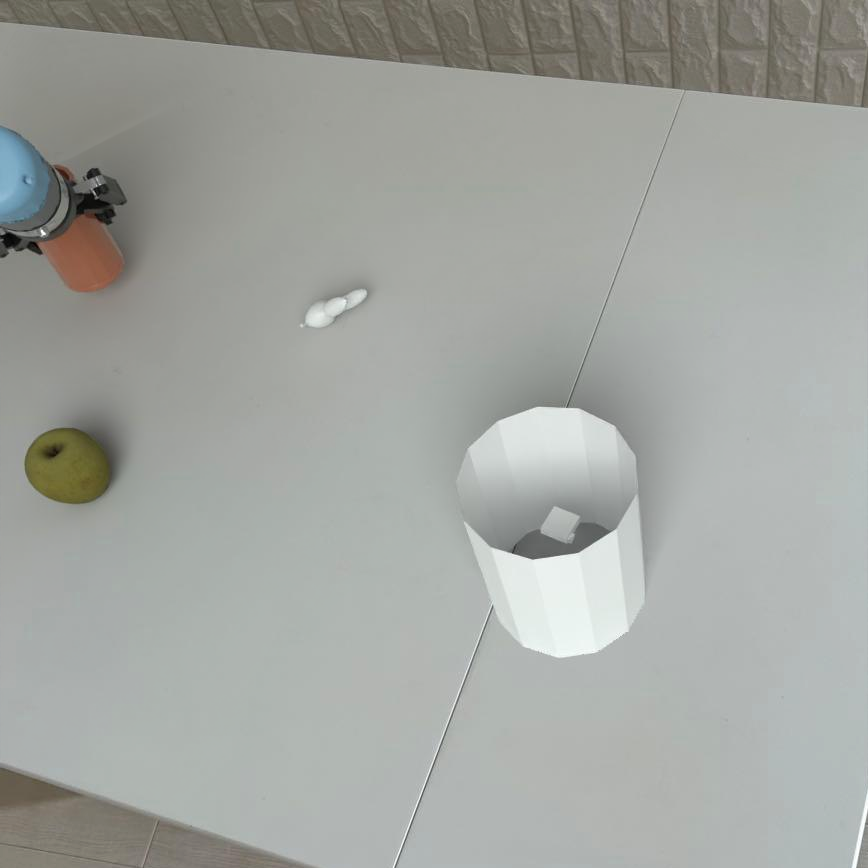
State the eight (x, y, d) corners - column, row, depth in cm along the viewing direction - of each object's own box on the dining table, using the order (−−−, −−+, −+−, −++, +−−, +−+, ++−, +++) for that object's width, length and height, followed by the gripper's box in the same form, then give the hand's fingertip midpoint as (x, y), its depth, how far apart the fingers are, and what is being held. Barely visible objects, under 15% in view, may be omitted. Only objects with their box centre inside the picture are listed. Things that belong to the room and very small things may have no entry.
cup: (54, 293, 121) (-4, 213, 111) (74, 247, 125) (19, 165, 115) (114, 292, 120) (61, 211, 110) (132, 245, 124) (82, 163, 114)
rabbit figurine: (310, 305, 120) (362, 275, 117) (328, 336, 121) (380, 307, 118) (284, 319, 115) (338, 288, 112) (303, 351, 116) (357, 321, 113)
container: (600, 682, 92) (582, 586, 77) (463, 619, 97) (420, 517, 82) (671, 553, 98) (667, 440, 83) (538, 499, 103) (512, 383, 88)
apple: (75, 451, 114) (40, 411, 107) (136, 466, 111) (104, 426, 105) (37, 508, 110) (-1, 470, 104) (99, 525, 108) (64, 487, 102)
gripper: (-54, 279, 98) (4, 295, 120) (148, 190, 102) (169, 222, 123) (-100, 203, 97) (-33, 233, 118) (108, 115, 100) (136, 160, 122)
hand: (70, 227), depth 121 cm, fingers closed on cup, 7 cm apart
